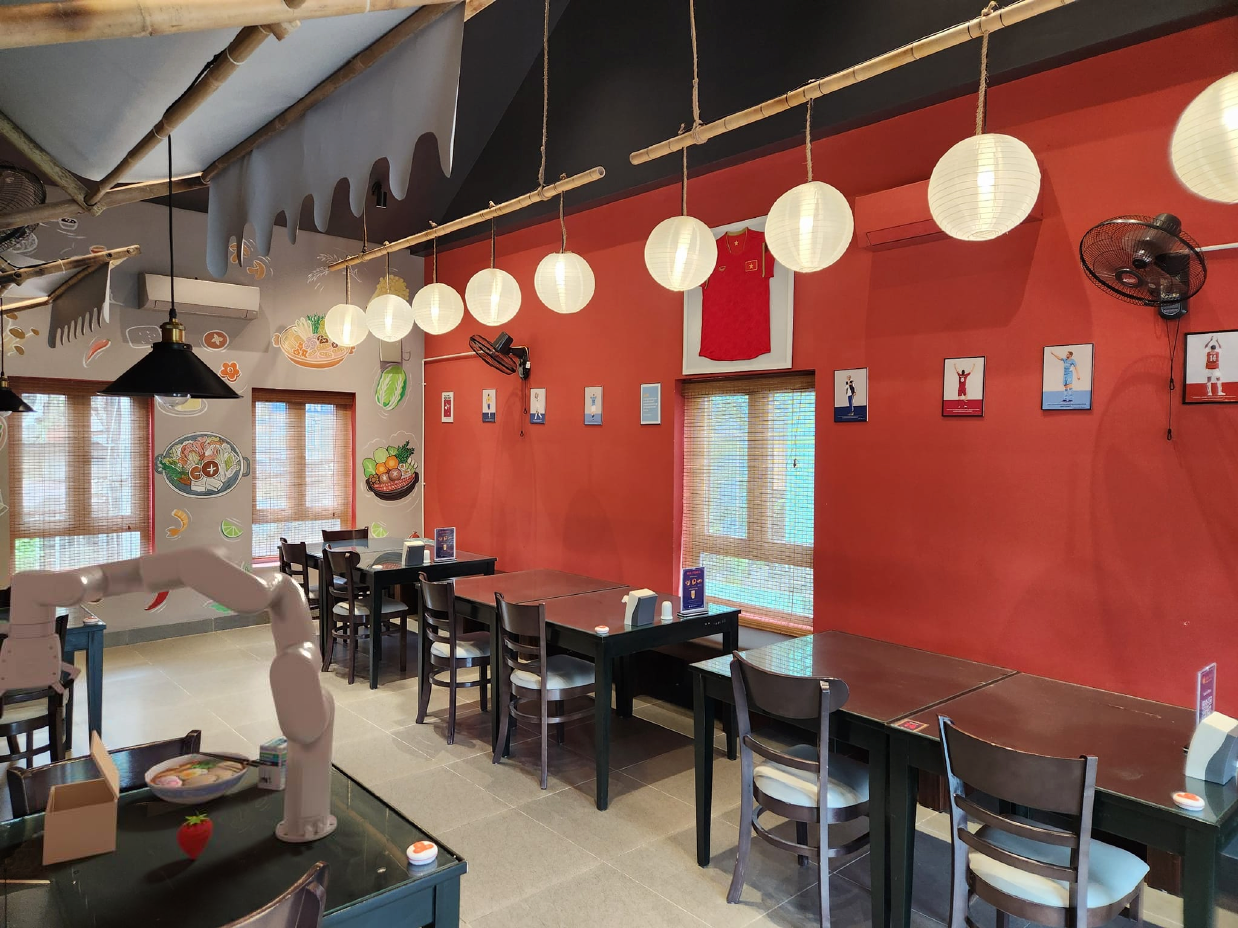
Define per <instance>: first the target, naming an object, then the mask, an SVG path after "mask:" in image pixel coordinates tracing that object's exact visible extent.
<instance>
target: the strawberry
mask: <svg viewBox="0 0 1238 928" xmlns="http://www.w3.org/2000/svg"><path fill="white" fill-rule="evenodd" d="M207 814H208V813H206V814H201V815H200V814H199V812H197V816H195V815H194V816H184V818H185V819H187V820H188V821H186V822H184V823H182V824H181V825H182V826H180V828H179V830H178V831H177V833H176V840H177V845H178V847H179V848H180V850H182V851H183V852H184V854H186V855H187V856H188V857H189V858H190V859H191V860H196V859H198V858H199V857H200V855H201V854H202V852H203V850H205V847H206V846H207V844H208V843H209V840H211V836H212V834H213V830H214V825H213V822H212V821H211V820H210V819H211V818H210V817H205V816H206V815H207Z"/></svg>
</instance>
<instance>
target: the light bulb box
mask: <svg viewBox="0 0 1238 928" xmlns="http://www.w3.org/2000/svg"><path fill="white" fill-rule="evenodd" d="M286 749H287V738H286V737H285V736H284V735H283V733H281V734H280V735H277V736H276V737H274V738H272V739H270V740H268V741H266V742H264V743H262V744H259V754H258V755H259V756H258V757H259V760H258V761H262V762H265V765H259V767H258V780H257V781H258V784H257V786H258V787H257V788H258V789H265V790H266V789H267V790H272V791H273V790H274V791H281V790H282V791H283V789H285V770H286Z"/></svg>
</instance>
